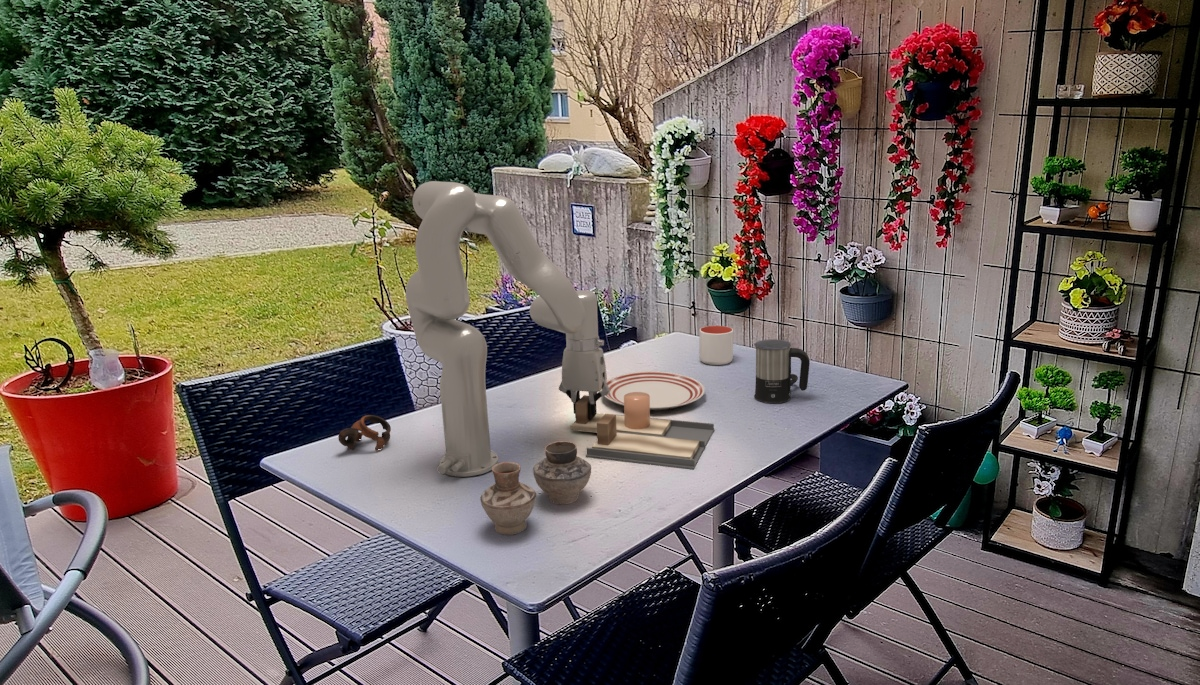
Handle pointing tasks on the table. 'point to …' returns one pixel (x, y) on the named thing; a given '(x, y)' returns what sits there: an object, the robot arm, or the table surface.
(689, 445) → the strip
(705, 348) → the cup
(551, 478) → the pottery
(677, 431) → the lane frame
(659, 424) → the strip
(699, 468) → the table surface
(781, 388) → the milk frother
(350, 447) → the brown curved loop
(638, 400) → the canister
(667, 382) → the dinner plate
